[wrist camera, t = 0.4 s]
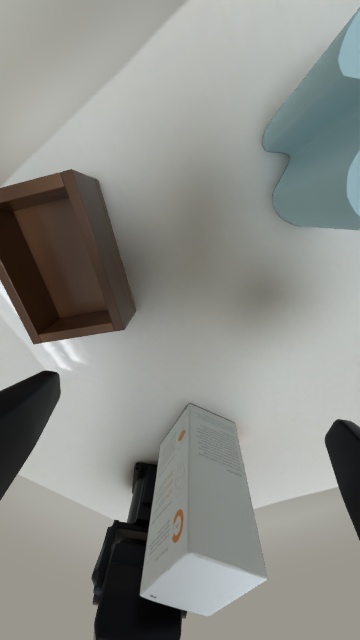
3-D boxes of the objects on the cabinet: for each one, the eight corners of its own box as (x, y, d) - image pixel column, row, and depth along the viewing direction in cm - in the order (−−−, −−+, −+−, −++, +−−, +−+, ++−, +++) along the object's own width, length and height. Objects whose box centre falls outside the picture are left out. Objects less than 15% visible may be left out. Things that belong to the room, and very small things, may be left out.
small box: (203, 461, 30) (209, 619, 18) (159, 443, 29) (136, 598, 17) (237, 422, 27) (271, 582, 15) (189, 401, 26) (186, 553, 14)
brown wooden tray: (97, 179, 18) (71, 168, 14) (136, 311, 22) (124, 330, 18) (5, 202, 19) (-42, 198, 15) (59, 324, 23) (33, 344, 19)
